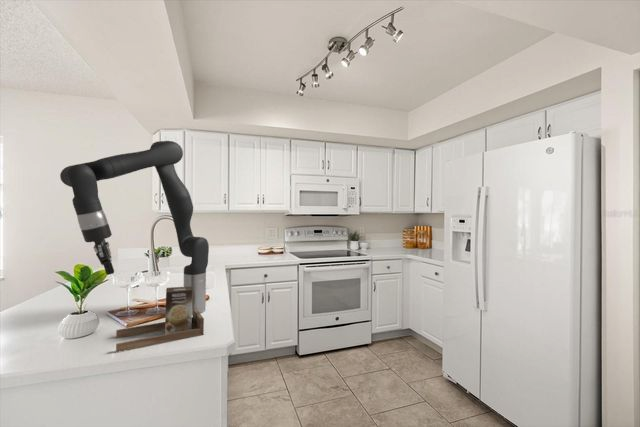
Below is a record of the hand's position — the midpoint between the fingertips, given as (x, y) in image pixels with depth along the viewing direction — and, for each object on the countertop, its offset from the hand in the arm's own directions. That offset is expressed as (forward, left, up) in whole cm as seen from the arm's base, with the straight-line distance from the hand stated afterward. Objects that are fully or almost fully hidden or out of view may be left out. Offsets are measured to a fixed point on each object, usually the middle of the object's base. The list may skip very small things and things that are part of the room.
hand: (110, 273), depth 105 cm
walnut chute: (+4, +14, -24) cm, 28 cm away
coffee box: (+2, +21, -24) cm, 32 cm away
